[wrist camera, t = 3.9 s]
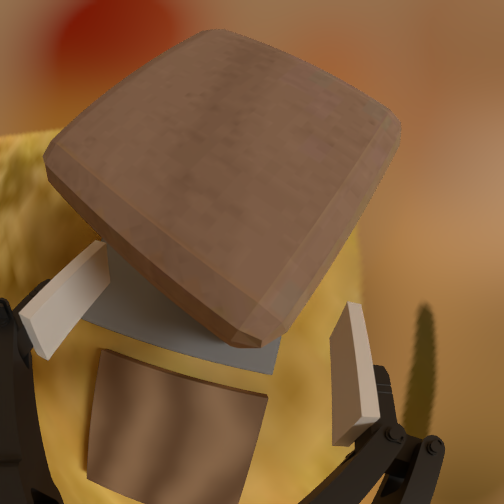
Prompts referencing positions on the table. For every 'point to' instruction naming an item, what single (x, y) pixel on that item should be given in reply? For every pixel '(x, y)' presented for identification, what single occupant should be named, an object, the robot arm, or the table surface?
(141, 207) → the wooden block
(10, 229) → the table surface
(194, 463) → the walnut board
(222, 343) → the gray tile
